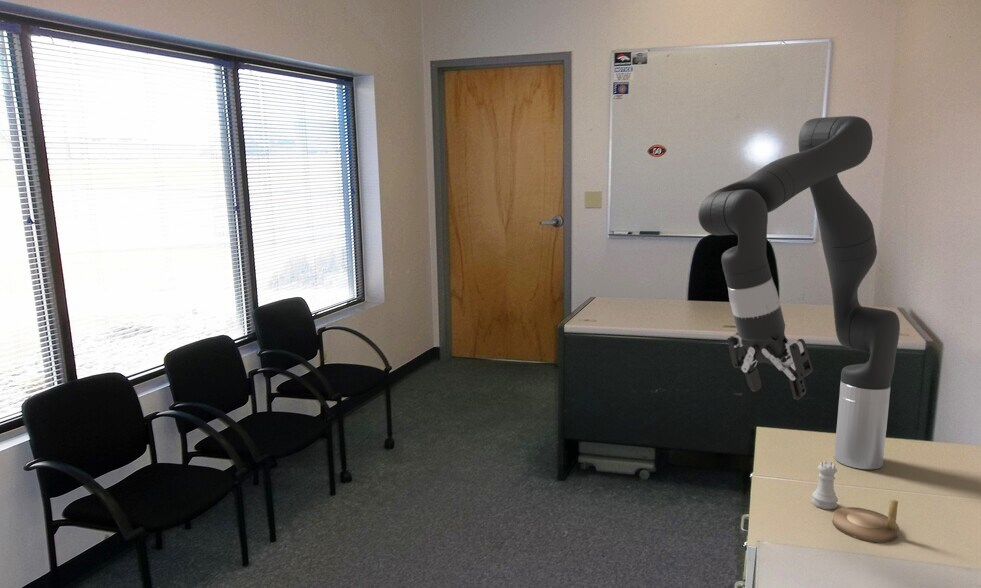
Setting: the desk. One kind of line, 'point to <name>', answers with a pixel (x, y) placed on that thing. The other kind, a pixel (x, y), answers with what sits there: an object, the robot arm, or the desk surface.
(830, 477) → the rook chess piece
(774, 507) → the desk surface
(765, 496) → the desk surface
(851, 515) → the handwheel with crank handle
